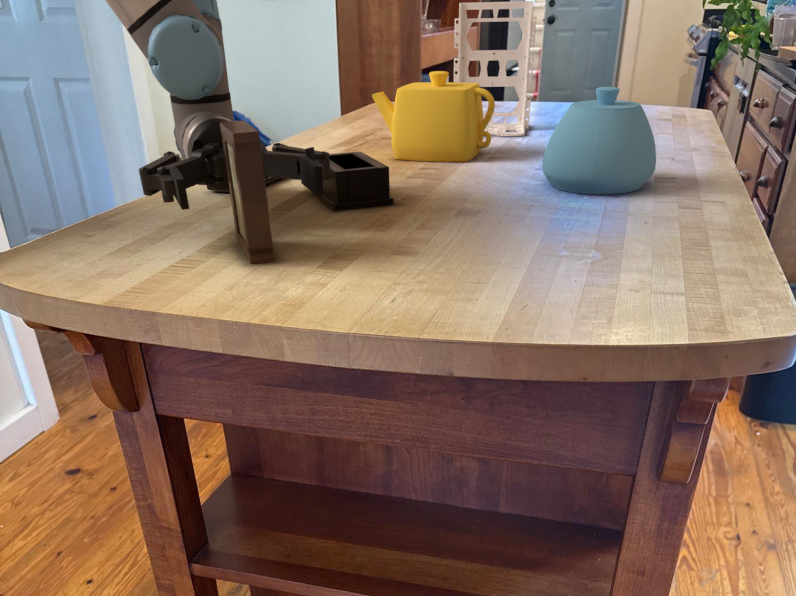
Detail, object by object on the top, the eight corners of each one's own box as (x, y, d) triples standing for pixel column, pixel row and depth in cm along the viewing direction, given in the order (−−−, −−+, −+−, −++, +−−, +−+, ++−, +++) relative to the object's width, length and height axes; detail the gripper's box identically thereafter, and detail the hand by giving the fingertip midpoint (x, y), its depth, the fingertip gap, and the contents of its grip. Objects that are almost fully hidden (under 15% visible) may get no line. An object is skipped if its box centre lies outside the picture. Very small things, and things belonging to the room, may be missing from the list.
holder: (310, 191, 103) (307, 156, 100) (365, 186, 105) (364, 151, 102) (334, 211, 94) (331, 172, 91) (393, 204, 96) (392, 166, 93)
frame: (237, 244, 83) (219, 122, 76) (259, 241, 83) (244, 120, 76) (250, 264, 77) (232, 133, 70) (274, 261, 77) (259, 131, 70)
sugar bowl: (566, 169, 111) (576, 79, 104) (666, 179, 104) (683, 83, 98) (522, 189, 101) (529, 91, 94) (630, 201, 94) (646, 96, 88)
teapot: (363, 159, 121) (359, 75, 114) (387, 146, 130) (384, 67, 123) (484, 164, 116) (487, 75, 109) (499, 150, 125) (503, 67, 118)
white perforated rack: (449, 136, 137) (451, 3, 125) (454, 125, 148) (457, 2, 136) (528, 136, 136) (538, 1, 124) (528, 125, 147) (536, 0, 135)
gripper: (321, 176, 95) (373, 214, 79) (119, 196, 89) (131, 241, 73) (316, 110, 91) (370, 135, 75) (103, 125, 84) (112, 156, 68)
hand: (252, 187), depth 74 cm, fingers open, 13 cm apart
